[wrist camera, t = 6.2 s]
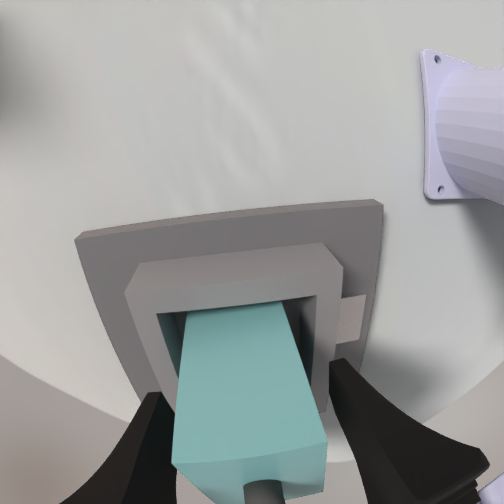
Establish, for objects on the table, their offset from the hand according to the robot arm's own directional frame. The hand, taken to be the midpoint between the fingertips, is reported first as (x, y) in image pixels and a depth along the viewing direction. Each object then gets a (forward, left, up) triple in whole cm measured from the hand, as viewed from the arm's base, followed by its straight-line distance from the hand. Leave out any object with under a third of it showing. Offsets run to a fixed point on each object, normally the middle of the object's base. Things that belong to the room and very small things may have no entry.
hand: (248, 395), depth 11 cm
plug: (0, 0, -4) cm, 4 cm away
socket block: (0, 0, -5) cm, 5 cm away
